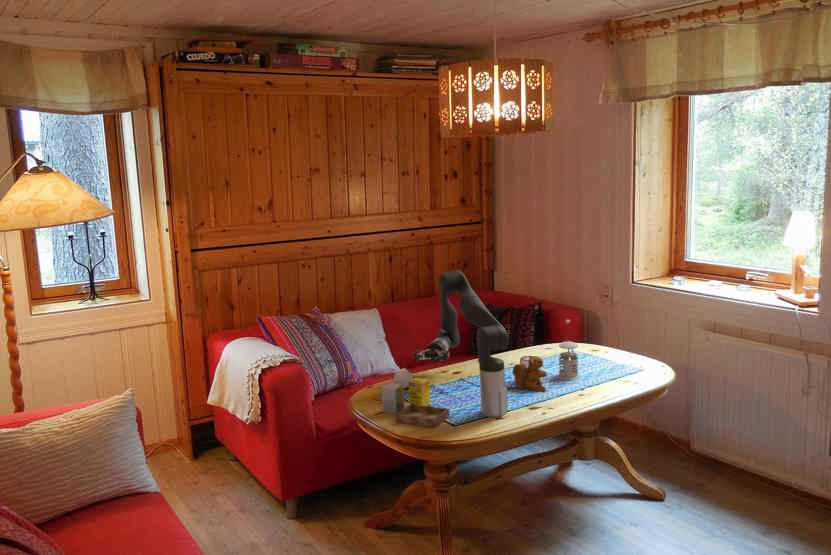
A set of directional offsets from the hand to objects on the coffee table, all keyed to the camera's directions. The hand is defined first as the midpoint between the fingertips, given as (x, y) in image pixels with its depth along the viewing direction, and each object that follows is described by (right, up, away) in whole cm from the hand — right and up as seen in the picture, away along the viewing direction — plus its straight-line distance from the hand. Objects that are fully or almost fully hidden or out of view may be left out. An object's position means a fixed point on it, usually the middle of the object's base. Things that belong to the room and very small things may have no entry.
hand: (426, 360), depth 283 cm
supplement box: (-2, -18, -8) cm, 19 cm away
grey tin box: (-13, -18, -10) cm, 25 cm away
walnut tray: (-2, -20, -21) cm, 28 cm away
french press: (+62, -9, +20) cm, 66 cm away
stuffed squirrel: (+43, -12, +8) cm, 45 cm away
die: (-9, -14, +17) cm, 24 cm away
